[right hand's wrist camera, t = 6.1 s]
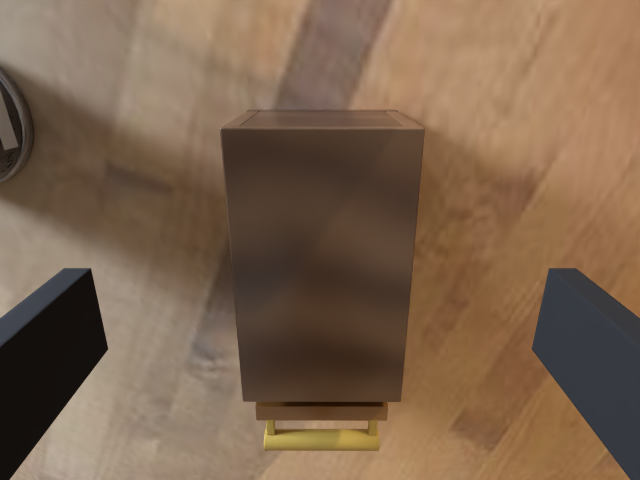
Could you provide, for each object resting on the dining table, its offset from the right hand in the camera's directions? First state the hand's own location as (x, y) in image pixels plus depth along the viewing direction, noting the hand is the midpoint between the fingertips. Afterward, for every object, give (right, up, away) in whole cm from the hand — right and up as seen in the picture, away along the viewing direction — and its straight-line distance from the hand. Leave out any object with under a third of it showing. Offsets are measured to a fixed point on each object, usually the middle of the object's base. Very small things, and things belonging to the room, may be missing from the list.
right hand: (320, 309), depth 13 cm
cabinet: (0, +3, +20) cm, 20 cm away
